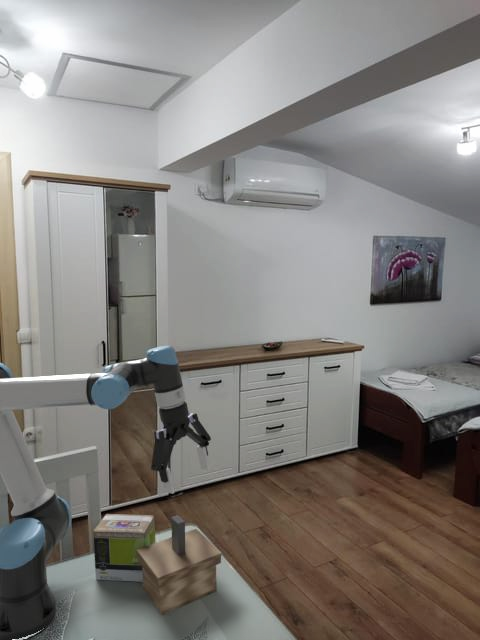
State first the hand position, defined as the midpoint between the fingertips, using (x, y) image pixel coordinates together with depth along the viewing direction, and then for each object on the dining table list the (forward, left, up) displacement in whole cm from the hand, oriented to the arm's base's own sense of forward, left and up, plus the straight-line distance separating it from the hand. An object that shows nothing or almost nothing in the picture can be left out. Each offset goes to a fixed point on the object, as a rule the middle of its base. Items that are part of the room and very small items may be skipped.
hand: (188, 480), depth 127 cm
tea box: (-13, +16, -30) cm, 36 cm away
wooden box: (-4, 0, -30) cm, 30 cm away
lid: (-4, 0, -22) cm, 22 cm away
